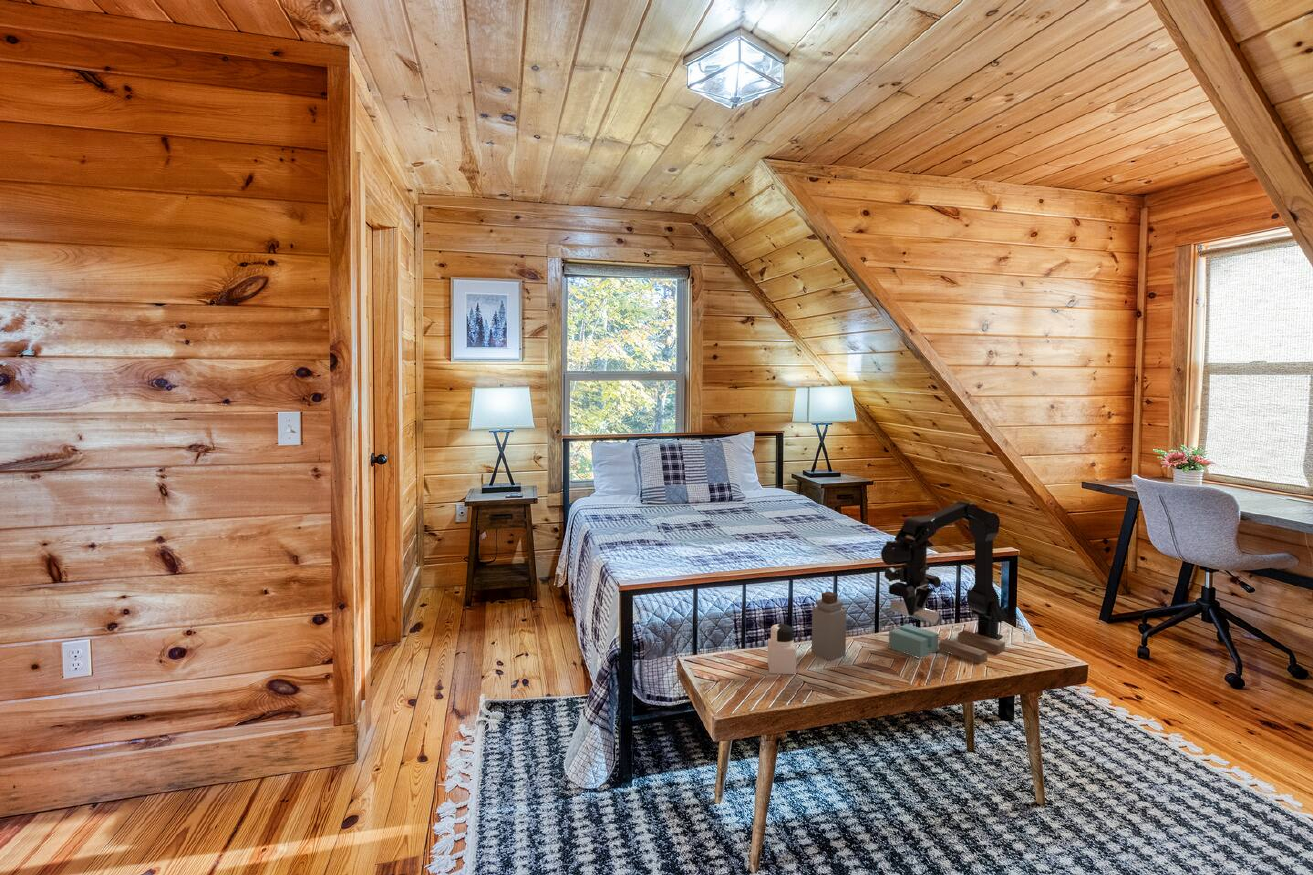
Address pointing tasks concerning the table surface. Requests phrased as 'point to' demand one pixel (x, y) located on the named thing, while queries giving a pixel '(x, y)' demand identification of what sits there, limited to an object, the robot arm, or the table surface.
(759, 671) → the table surface
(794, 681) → the table surface
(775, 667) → the medicine bottle
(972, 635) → the walnut beams
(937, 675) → the table surface
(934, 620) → the steel shaft
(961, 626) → the table surface
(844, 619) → the perfume bottle
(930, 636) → the v-block
